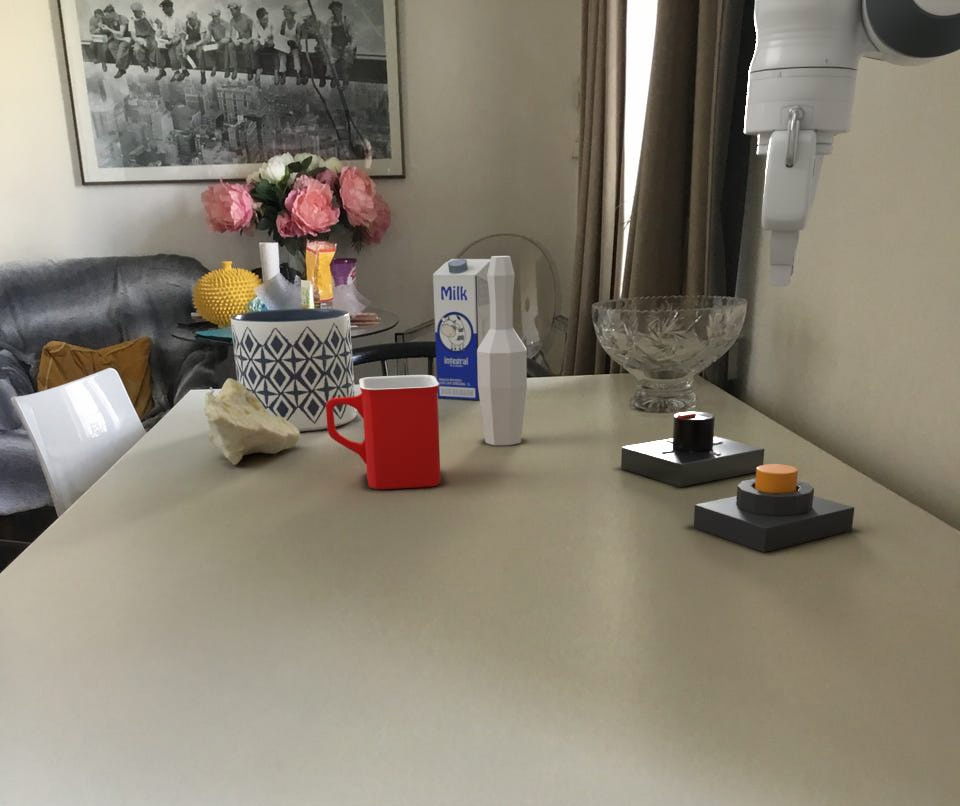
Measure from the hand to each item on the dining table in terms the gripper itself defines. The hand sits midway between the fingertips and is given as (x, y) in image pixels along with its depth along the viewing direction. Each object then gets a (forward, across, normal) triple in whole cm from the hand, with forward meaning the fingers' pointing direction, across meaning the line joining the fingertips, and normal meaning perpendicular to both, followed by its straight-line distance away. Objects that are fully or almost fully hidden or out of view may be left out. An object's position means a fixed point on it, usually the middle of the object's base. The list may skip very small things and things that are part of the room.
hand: (781, 281), depth 96 cm
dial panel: (+21, +13, +8) cm, 26 cm away
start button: (+17, -8, -2) cm, 19 cm away
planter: (+22, +30, +64) cm, 74 cm away
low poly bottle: (+22, +23, +32) cm, 45 cm away
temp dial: (+19, +13, +8) cm, 24 cm away
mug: (+22, +2, +40) cm, 45 cm away
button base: (+21, -8, -2) cm, 22 cm away
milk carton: (+22, +54, +47) cm, 74 cm away
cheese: (+22, +7, +59) cm, 64 cm away
